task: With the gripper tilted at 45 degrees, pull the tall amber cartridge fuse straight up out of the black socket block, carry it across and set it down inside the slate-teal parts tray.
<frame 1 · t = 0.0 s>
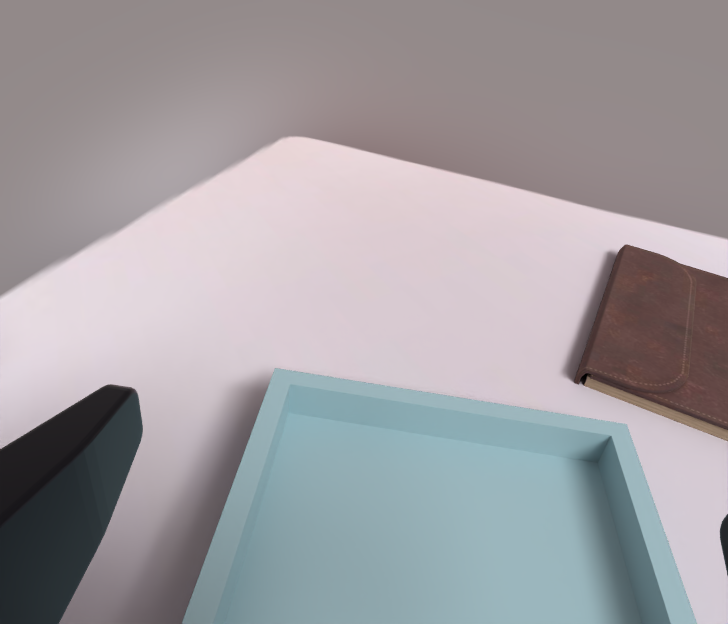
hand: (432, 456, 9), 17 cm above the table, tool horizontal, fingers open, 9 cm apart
parts tray: (436, 597, 24), on the table
notebook: (701, 353, 42), on the table
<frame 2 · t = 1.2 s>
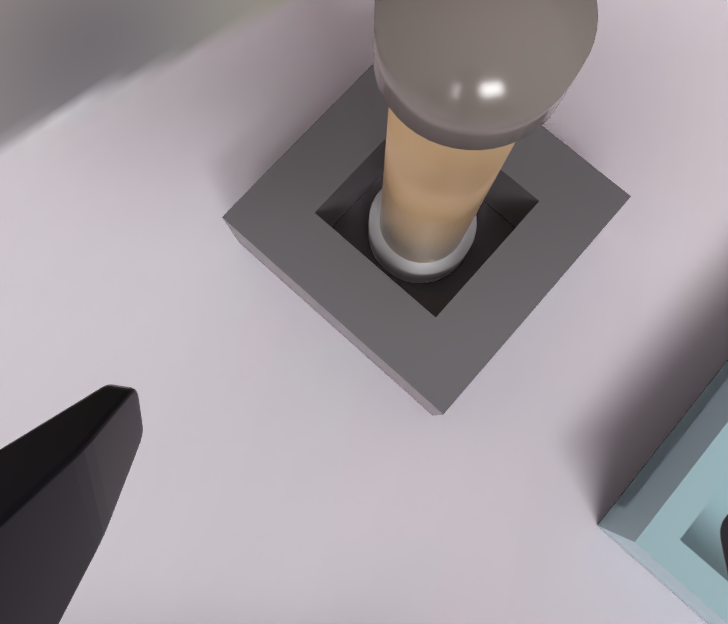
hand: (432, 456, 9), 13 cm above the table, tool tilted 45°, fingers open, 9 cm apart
socket block: (419, 233, 23), on the table
fuse: (440, 163, 17), in the socket block
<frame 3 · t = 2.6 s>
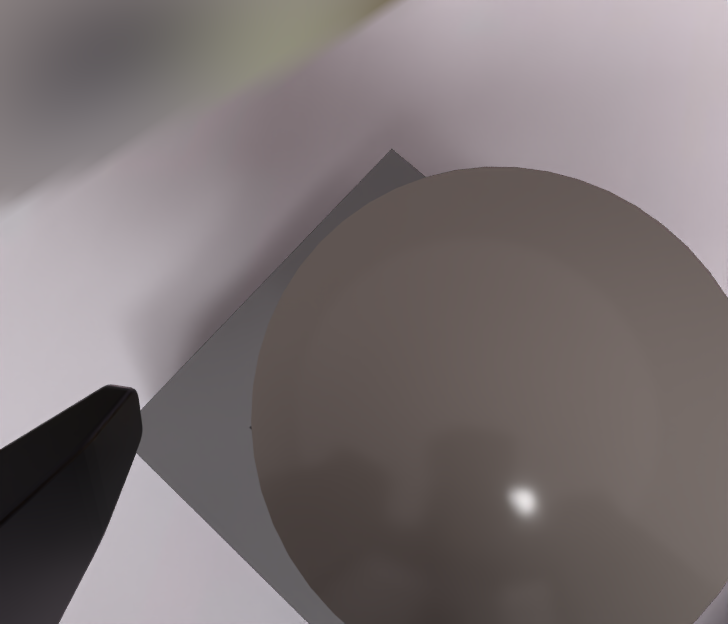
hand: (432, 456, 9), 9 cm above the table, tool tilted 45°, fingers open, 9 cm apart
socket block: (401, 419, 17), on the table
fuse: (423, 417, 11), in the socket block
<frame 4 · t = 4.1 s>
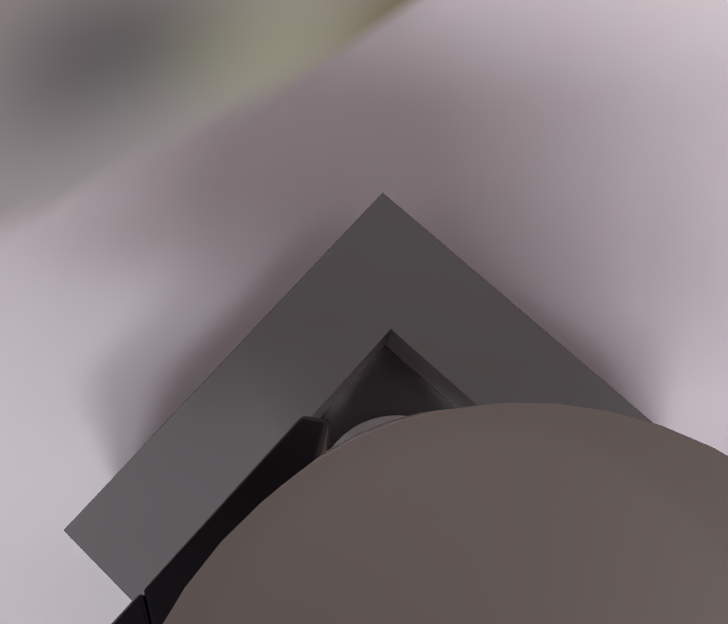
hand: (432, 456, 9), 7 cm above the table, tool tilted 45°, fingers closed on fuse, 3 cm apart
socket block: (394, 494, 15), on the table
fuse: (416, 547, 9), in the socket block, touching gripper
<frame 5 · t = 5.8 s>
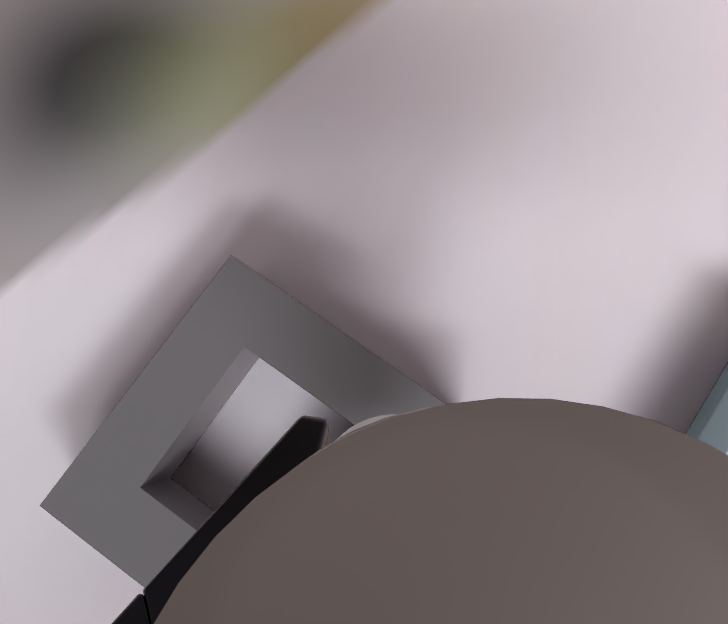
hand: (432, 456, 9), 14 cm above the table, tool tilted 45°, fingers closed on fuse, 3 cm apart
socket block: (275, 459, 22), on the table
fuse: (414, 545, 9), point 13 cm above the table, touching gripper
when the fingers open (10 cm above the table, at t = 7.8 s): fuse drops 1 cm, resting on parts tray.
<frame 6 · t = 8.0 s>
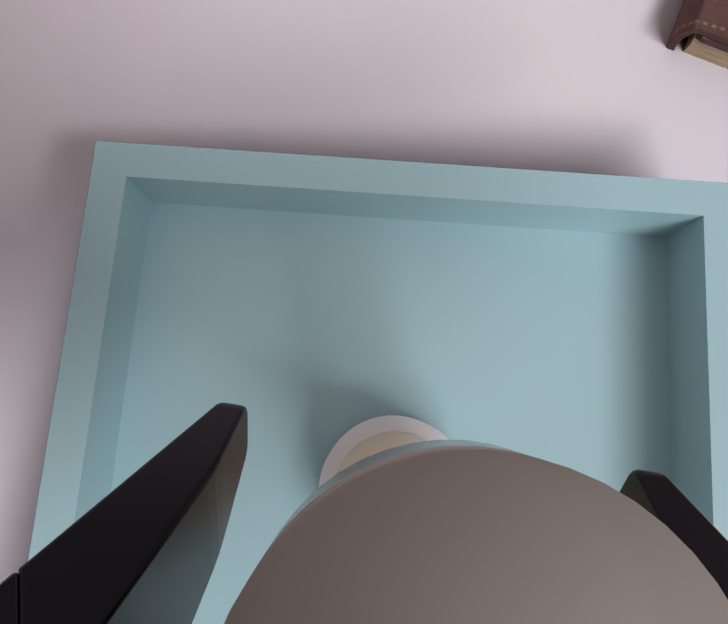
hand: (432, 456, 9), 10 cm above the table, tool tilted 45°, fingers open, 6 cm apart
parts tray: (390, 482, 18), on the table
fuse: (410, 537, 10), in the parts tray, point 8 cm above the table
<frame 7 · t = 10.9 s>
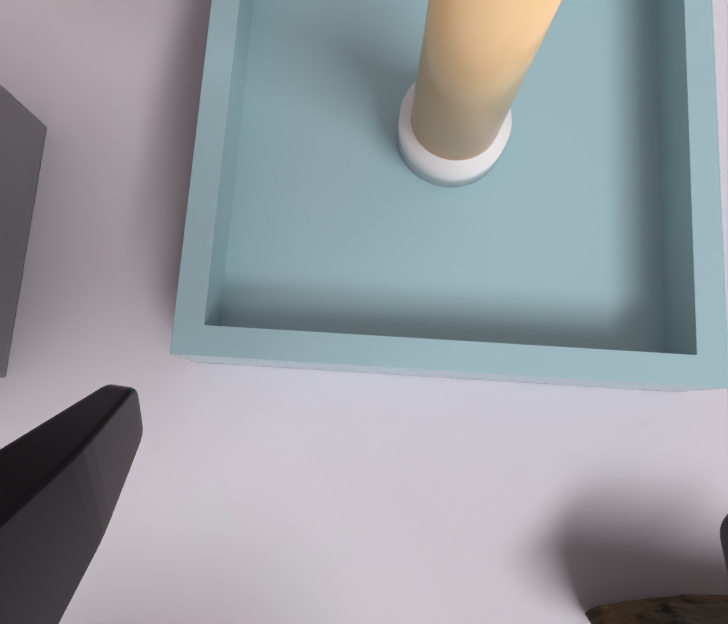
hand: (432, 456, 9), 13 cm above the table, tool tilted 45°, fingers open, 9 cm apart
parts tray: (446, 150, 24), on the table
fuse: (483, 27, 16), in the parts tray, point 8 cm above the table
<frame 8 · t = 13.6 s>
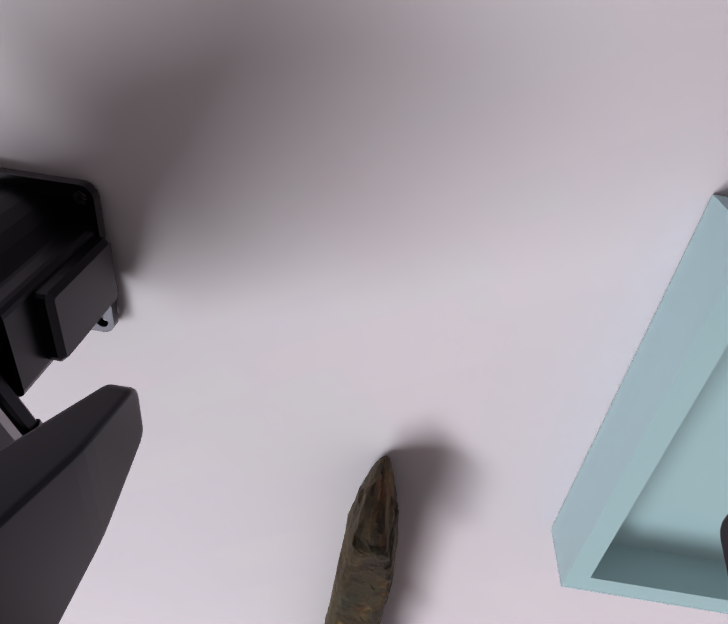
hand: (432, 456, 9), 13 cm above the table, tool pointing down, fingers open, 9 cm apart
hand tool: (353, 558, 33), on the table
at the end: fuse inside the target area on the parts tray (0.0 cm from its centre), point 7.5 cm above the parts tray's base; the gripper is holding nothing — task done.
